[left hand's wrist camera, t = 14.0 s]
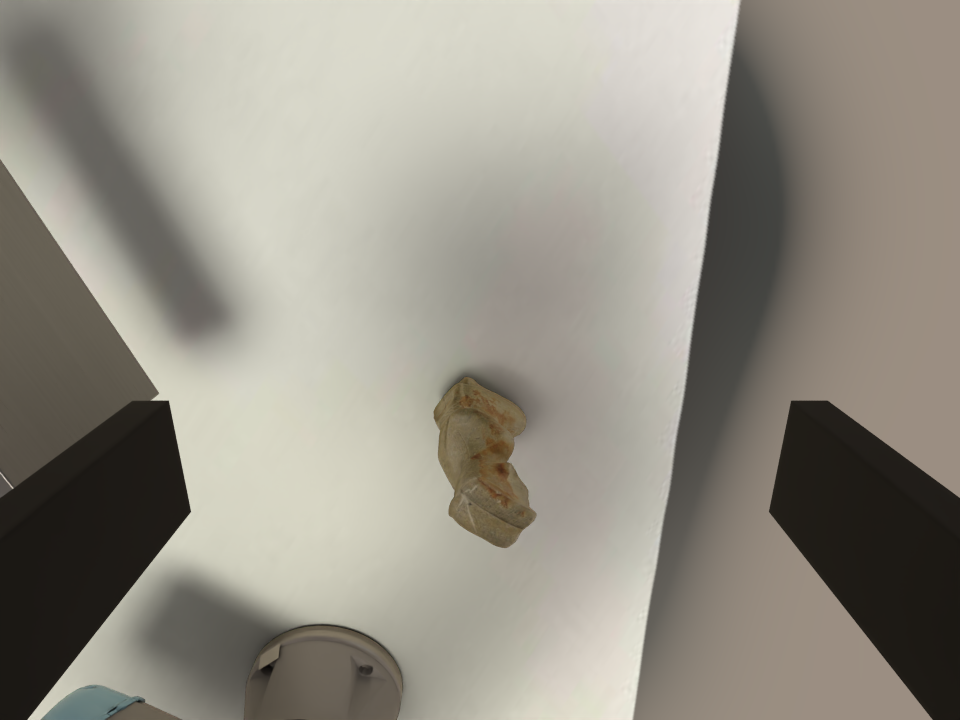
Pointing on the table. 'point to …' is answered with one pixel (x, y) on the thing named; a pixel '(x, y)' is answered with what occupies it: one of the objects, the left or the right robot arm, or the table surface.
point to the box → (51, 347)
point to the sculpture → (483, 462)
